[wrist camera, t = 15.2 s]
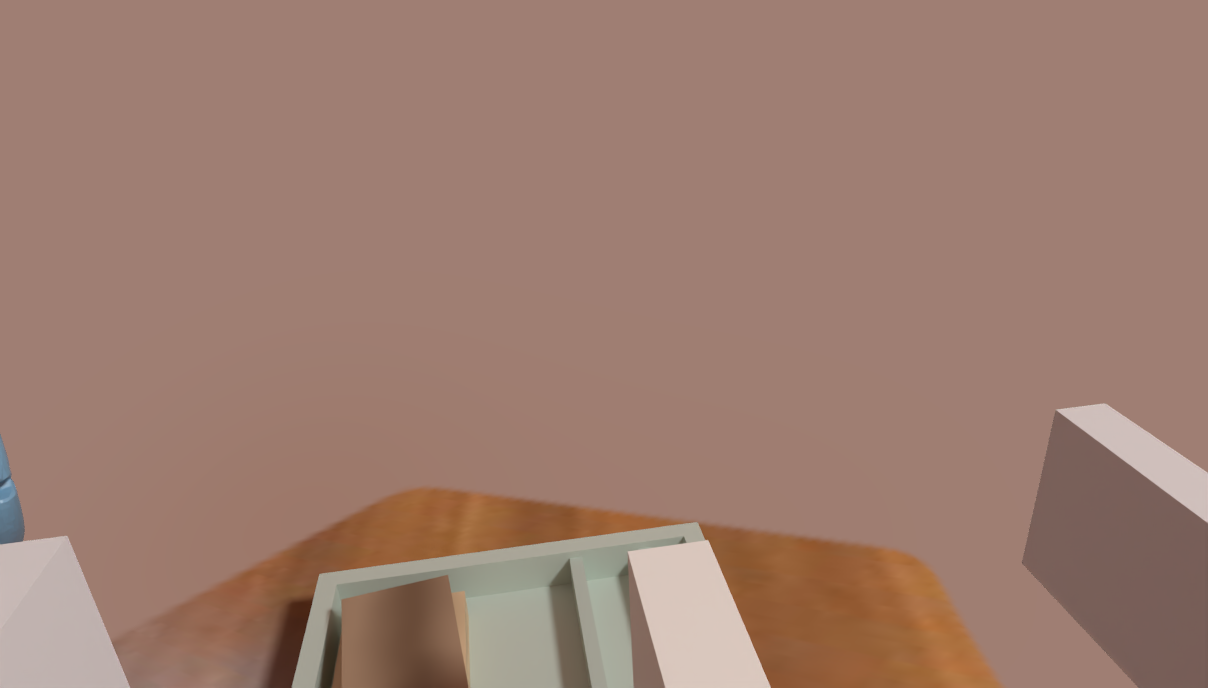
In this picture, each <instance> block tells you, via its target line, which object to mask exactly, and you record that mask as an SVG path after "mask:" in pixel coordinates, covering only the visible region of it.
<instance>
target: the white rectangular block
mask: <svg viewBox="0 0 1208 688" xmlns="http://www.w3.org/2000/svg"><path fill="white" fill-rule="evenodd" d="M628 574H629V596H630V619H631V641H632V664H633V686H634V688H771V687H770V685H769V682H768V680H767V678H766V675H765V673H764V671H763V668H762V666H761V664H760V661H759V659H758V657H757V654H756V652H755V649H754V647H753V645H752V642H751V640H750V638H749V635H748V633H747V631H746V628H745V626H744V624H743V621H742V619H741V616H740V614H739V612H738V609H737V607H736V605H735V602H734V600H733V598H732V595H731V593H730V591H729V588H728V586H727V584H726V581H725V579H724V576H723V574H722V572H721V569H720V567H719V565H718V562H717V560H716V558H715V555H714V553H713V551H712V548H711V546H710V543H709V541H708V540H705V541H698V542H691V543H684V544H677V545H670V546H662V547H655V548H648V549H641V550H634V551H628Z"/></svg>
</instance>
